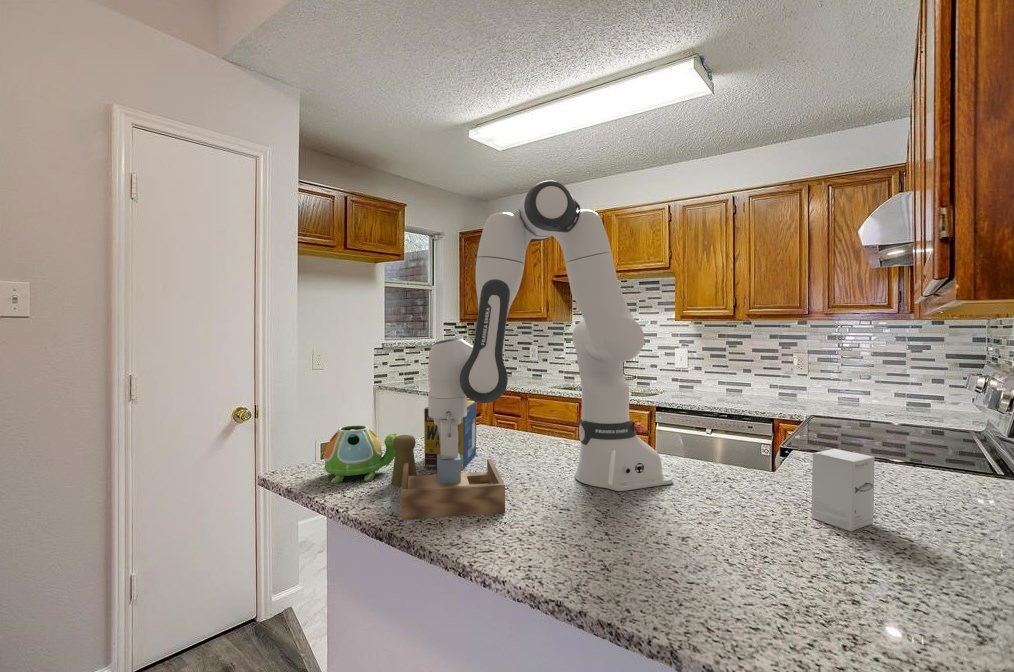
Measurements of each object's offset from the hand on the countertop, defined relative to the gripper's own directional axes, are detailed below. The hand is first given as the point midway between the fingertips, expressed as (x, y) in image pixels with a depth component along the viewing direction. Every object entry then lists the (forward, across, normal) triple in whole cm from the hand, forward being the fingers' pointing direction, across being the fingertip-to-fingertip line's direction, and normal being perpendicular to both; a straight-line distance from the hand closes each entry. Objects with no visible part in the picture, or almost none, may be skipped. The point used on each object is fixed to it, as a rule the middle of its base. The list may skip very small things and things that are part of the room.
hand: (447, 467), depth 114 cm
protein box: (+4, +19, -2) cm, 19 cm away
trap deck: (+4, -10, 0) cm, 11 cm away
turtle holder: (+4, +10, +21) cm, 24 cm away
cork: (+4, +3, +10) cm, 11 cm away
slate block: (+1, -5, 0) cm, 5 cm away
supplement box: (+4, -34, -72) cm, 79 cm away
